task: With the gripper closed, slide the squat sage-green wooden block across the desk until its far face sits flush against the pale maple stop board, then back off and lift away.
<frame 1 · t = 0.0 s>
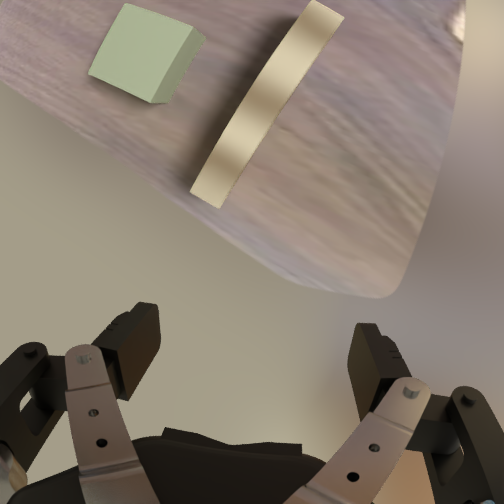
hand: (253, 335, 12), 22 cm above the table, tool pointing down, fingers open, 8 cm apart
sage block: (156, 56, 27), on the table
stop board: (268, 102, 28), on the table
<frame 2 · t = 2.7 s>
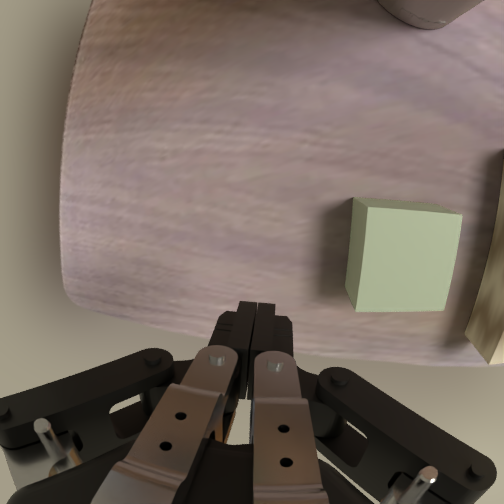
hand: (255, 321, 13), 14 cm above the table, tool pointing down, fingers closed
sage block: (391, 244, 26), on the table
stop board: (499, 248, 25), on the table
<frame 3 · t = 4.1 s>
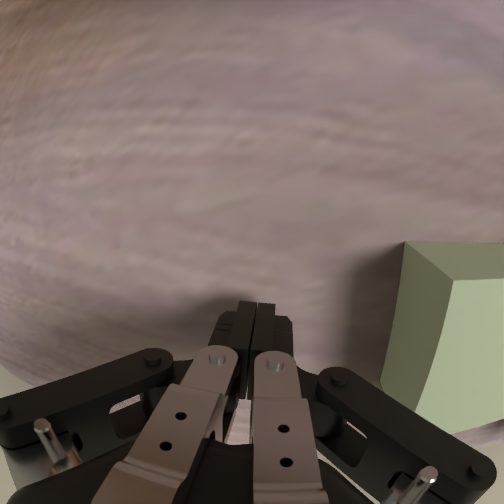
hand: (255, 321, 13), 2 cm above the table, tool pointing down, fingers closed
sage block: (456, 313, 14), on the table
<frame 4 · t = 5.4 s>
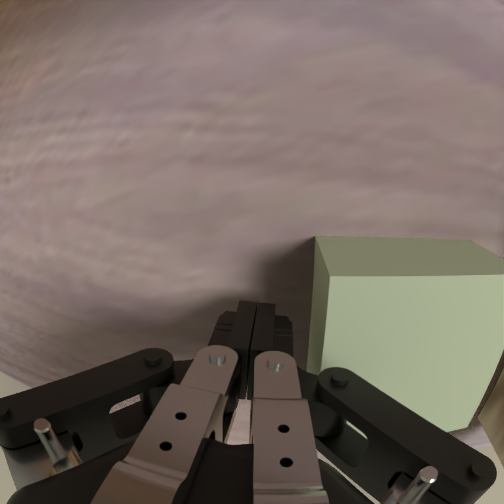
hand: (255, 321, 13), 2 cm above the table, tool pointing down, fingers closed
sage block: (388, 313, 15), on the table
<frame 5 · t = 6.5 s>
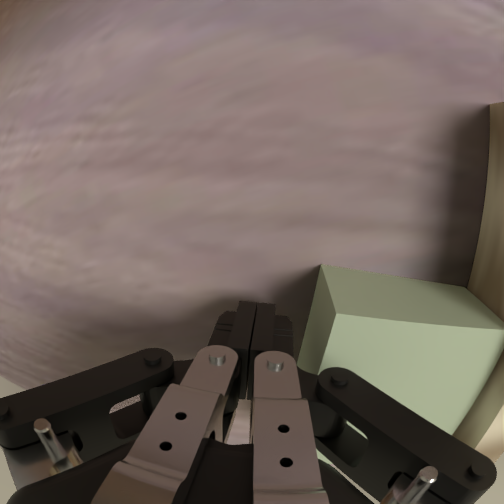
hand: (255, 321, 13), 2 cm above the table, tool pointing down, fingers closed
sage block: (375, 344, 15), on the table, touching gripper
stop board: (484, 297, 14), on the table
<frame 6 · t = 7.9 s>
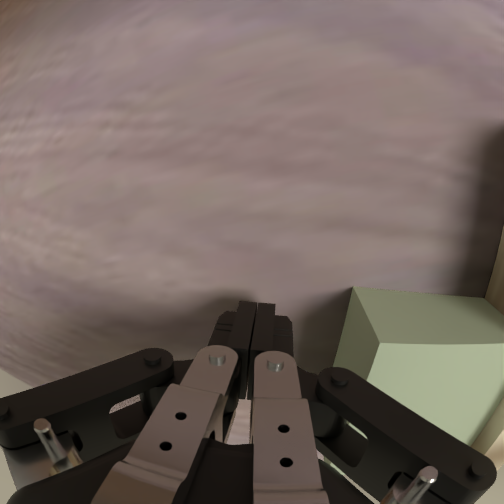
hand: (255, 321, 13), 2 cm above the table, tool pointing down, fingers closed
sage block: (403, 357, 15), on the table
stop board: (499, 304, 14), on the table
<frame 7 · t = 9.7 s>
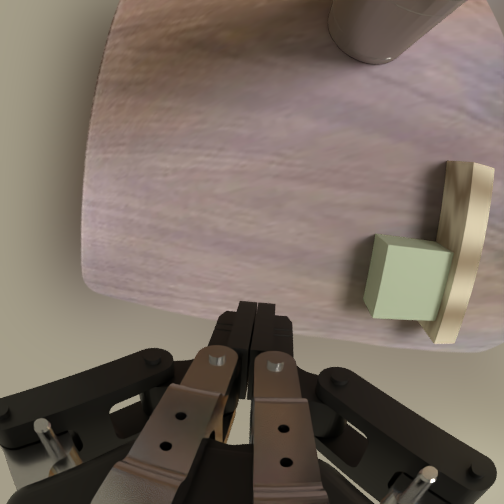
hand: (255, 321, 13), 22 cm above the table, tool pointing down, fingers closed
sage block: (399, 270, 35), on the table
stop board: (445, 245, 33), on the table
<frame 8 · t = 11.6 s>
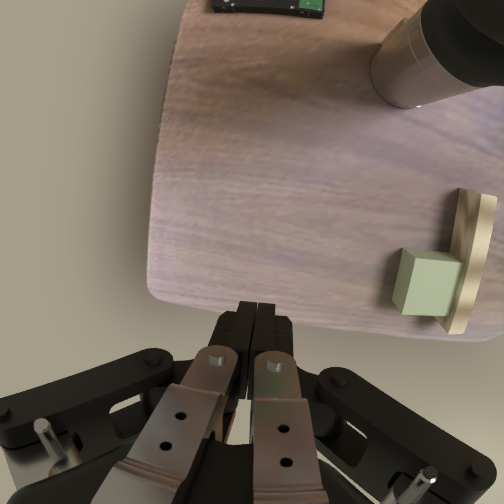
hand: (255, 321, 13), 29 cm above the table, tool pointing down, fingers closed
sage block: (420, 275, 42), on the table
stop board: (455, 255, 40), on the table
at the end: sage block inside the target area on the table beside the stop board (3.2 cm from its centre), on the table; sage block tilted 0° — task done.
